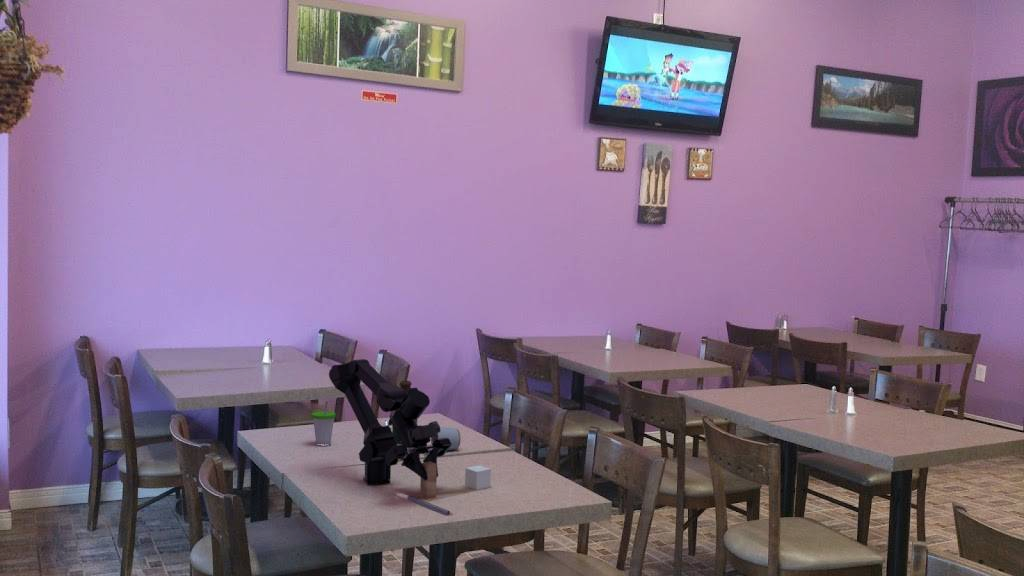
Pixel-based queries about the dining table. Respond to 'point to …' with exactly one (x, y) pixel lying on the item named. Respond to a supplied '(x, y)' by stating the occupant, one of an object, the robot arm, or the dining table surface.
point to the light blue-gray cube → (477, 477)
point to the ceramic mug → (449, 436)
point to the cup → (323, 425)
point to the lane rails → (428, 505)
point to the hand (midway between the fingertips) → (431, 478)
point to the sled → (429, 485)
